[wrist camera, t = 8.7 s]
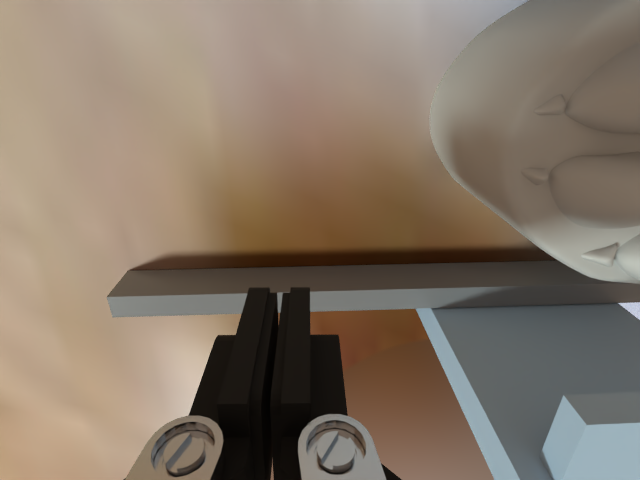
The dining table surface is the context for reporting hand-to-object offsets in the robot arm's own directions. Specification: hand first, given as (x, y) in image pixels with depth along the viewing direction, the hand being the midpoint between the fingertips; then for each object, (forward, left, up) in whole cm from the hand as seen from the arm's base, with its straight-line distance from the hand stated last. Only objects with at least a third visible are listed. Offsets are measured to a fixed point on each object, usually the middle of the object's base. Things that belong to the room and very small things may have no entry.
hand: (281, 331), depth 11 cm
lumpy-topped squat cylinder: (-13, -5, -10) cm, 17 cm away
